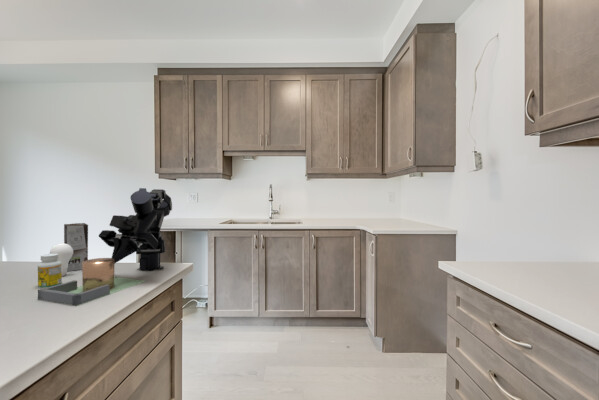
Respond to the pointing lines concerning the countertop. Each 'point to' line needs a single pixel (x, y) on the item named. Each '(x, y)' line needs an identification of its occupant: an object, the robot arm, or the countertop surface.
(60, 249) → the lightbulb
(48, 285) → the supplement bottle
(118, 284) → the green
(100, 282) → the copper metal cylinder
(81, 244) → the coffee box
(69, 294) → the shallow gray tray
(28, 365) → the countertop surface
